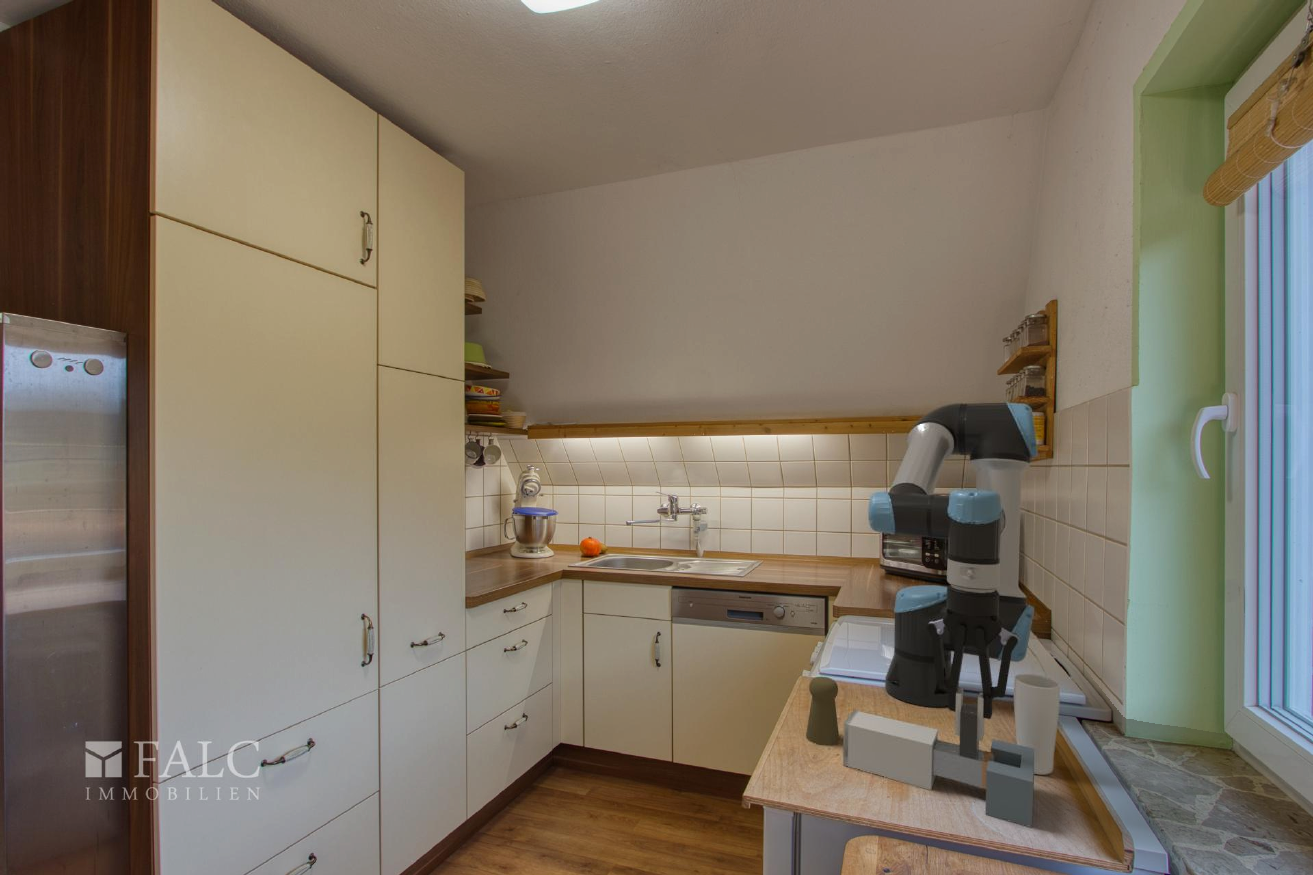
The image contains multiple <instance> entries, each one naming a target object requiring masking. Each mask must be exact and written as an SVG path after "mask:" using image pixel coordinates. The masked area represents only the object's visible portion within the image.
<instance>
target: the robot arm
mask: <svg viewBox="0 0 1313 875" xmlns="http://www.w3.org/2000/svg"><path fill="white" fill-rule="evenodd" d="M906 440H907V442H906V444H907V446H908V448H907V449H906V452H905V454H904V457H903V459H902V461H901V464H900V466H899V468H898V470H897V473H896V475H895V477H894V479H893V482H892V483H891V487H890V488H889V491H887V490H884V491H876V492H873V493H872V494H871V496H870V499H869V502H868V513H867V514H868V523H869V526H870V528H871V529H872V531H874V532H877V533H884V534H890V536H891V535H893V536H894V535H901V536H912V537H925V538H926V537H927V538H934V539H935V538H937V539H947V541H948V543H947V551H948V552H947V566H946V568H947V569H946V570H947V571H946V581H947V582H948V584H949V585H948V586H943V585H938V584H937V585H936V584H935V585H933V584H932V585H931V584H929V585H928V584H925V585H912V586H908V587H907V586H906V587H904V588H901V589H899V591H898V592H897V593H896V596H895V602H894V603H895V604H894V609H893V611H894V640H893V641H894V644H893V645H894V646H893V647H894V649H893V651H894V652H893V656H892V659H891V661H890V665H889V667H888V669H887V672H886V675H885V681H884V684H885V686H884V688H885V691H886V693H888V694H889V695H890V696H892V697H894V698H896V699H897V700H899V701H903V702H906V703H908V704H913V705H917V706H921V707H923V706H924V707H931V708H938V707H939V708H943V707H947V708H948V709H949V711H950V712H955V719H954V720H955V722H954V727H955V728H954V729H955V730H954V735H957V736H960V711H961V708H962V706H963V703H964V689H963V688H960V686H959V685H960V684H959V683H960V678H961V672H962V664H963V659H964V654H965V655H969V656H970V655H971V656H976V657H978V663H979V670H980V671H979V672H980V680H981V688H982V692H979V694H978V697H977V706H978V718H977V740H979V741H983V740H984V736H985V719H988V720H991V719H992V716H993V702H994V701H993V700H994V699H996V698H1000V699H1003V698H1004V697H1005V695H1006V691H1007V685H1008V678H1009V674H1010V673H1009V672H1010V666H1011V662H1015V663H1018V662H1022V661H1023V660H1024V659H1025V658H1026V656H1027V652H1028V648H1029V647H1028V646H1029V641H1030V636H1031V629H1032V625H1033V624H1032V623H1033V618H1034V612H1035V607H1034V606H1032V605H1030V604H1027V595H1026V594H1025V593H1024V592H1023V591H1022V589H1020V587H1019V577H1020V576H1019V573H1020V572H1019V571H1020V570H1019V568H1020V541H1021V540H1020V537H1021V536H1020V535H1021V534H1020V533H1021V531H1020V530H1021V501H1022V500H1021V499H1022V474H1023V472H1024V471H1026V470H1027V469H1028V468H1030V466H1031V459H1035V458H1037V457H1038V456H1039V453H1038V452H1039V451H1038V444H1037V438H1036V430H1035V422H1034V413H1033V409H1032V407H1031V406H1030V405H1028V404H1026V403H1017V402H1016V403H1014V402H1008V401H1006V402H982V403H981V402H979V403H978V402H977V403H961V402H960V403H949V404H945V405H942V406H940V407H937V408H935V409H933V410H931V411H930V412H928V413H926V414H925V415H923V416H922V417H921V418H920V419H919V420H917V422H915V424H914V425H913V426H912V427H911V429H910V432H909V434H908V436H907V439H906ZM951 455H952V456H956V455H957V456H958V455H959V456H969V464H970V465H971V466H972V467H973V469H974V470H975V471H976V482H975V484H976V487H975V489H972V488H971V489H969V488H967V489H965V488H964V489H962V488H960V489H959V488H958V489H954V490H952V491H951V492H950V493H949V495H938V494H937V495H936V494H934V493H935V492H934V491H935V489H936V486H937V483H938V480H939V477H940V474H941V471H942V468H943V464H944V462H945V460H946V459H948V458H949V457H950V456H951ZM952 652H953V654H952ZM952 655H953V656H952ZM990 659H993V660H997V662H998V661H999V662H1000V664H999V665H1000V667H999V670H998V671H999V672H998V676H997V677H998V678H997V686H993V680H992V678H993V677H992V670H991V663H990V662H991V660H990Z"/></svg>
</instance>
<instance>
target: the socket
mask: <svg viewBox="0 0 1313 875" xmlns="http://www.w3.org/2000/svg"><path fill="white" fill-rule="evenodd" d="M990 752H992V753H995V762H993V761H989V760H988V765H987V770H986V789H985V815H986V816H990V817H993V818H997V819H1000V820H1003V819H1004V820H1003V821H1007V820H1010V821H1013V822H1012V823H1014V822H1017V823H1020V824H1019V825H1021V824H1024V825H1029V826H1032V827H1033V811H1034V808H1033V807H1034V790H1035V788H1034V787H1035V786H1034V784H1035V774H1034V752H1035V749H1034V748H1030V747H1025V746H1021V745H1017V743H1011V742H1007V741H1003V740H999V739H994V738H992V740H991V746H990ZM1010 821H1009V822H1010ZM1017 823H1016V824H1017ZM1024 825H1023V826H1024Z"/></svg>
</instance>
